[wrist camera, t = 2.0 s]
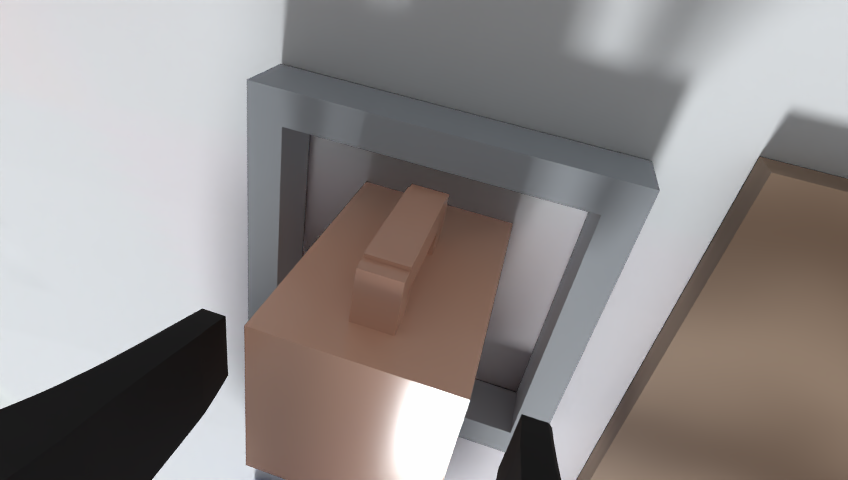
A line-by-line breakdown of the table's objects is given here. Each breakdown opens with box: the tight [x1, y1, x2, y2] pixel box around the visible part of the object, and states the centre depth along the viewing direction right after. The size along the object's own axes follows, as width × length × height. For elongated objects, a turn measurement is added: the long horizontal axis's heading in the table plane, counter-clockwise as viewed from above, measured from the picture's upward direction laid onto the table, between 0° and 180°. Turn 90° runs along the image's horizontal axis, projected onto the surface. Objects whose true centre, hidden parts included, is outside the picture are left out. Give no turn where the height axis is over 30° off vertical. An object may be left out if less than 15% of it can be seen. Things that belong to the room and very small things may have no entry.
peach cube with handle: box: [244, 182, 513, 480], centre depth 14 cm, size 6×5×7 cm
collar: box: [247, 64, 660, 452], centre depth 16 cm, size 10×10×2 cm
